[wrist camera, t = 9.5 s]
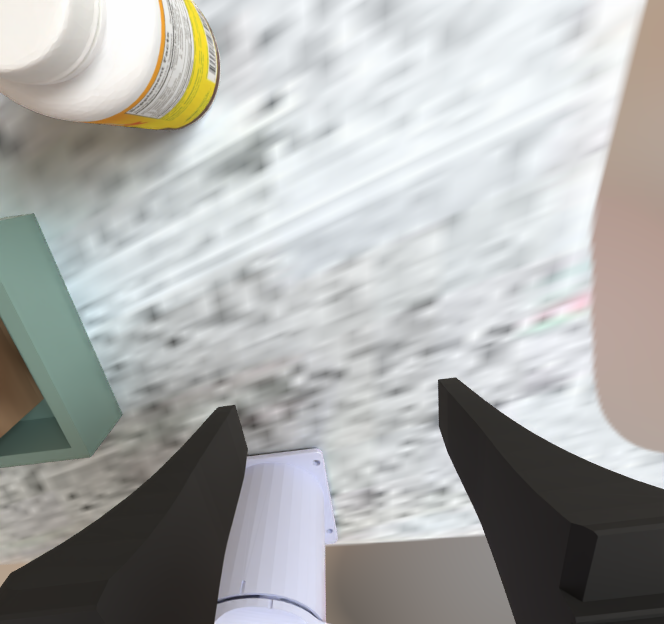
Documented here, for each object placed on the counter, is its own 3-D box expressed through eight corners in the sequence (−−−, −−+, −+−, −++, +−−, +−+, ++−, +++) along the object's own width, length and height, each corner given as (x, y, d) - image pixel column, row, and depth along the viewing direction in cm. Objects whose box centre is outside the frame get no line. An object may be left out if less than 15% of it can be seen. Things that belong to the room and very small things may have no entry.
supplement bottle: (73, 65, 17) (-246, -43, 7) (142, -51, 15) (-148, -378, 6) (179, 158, 18) (30, 168, 9) (250, 62, 17) (161, -49, 7)
